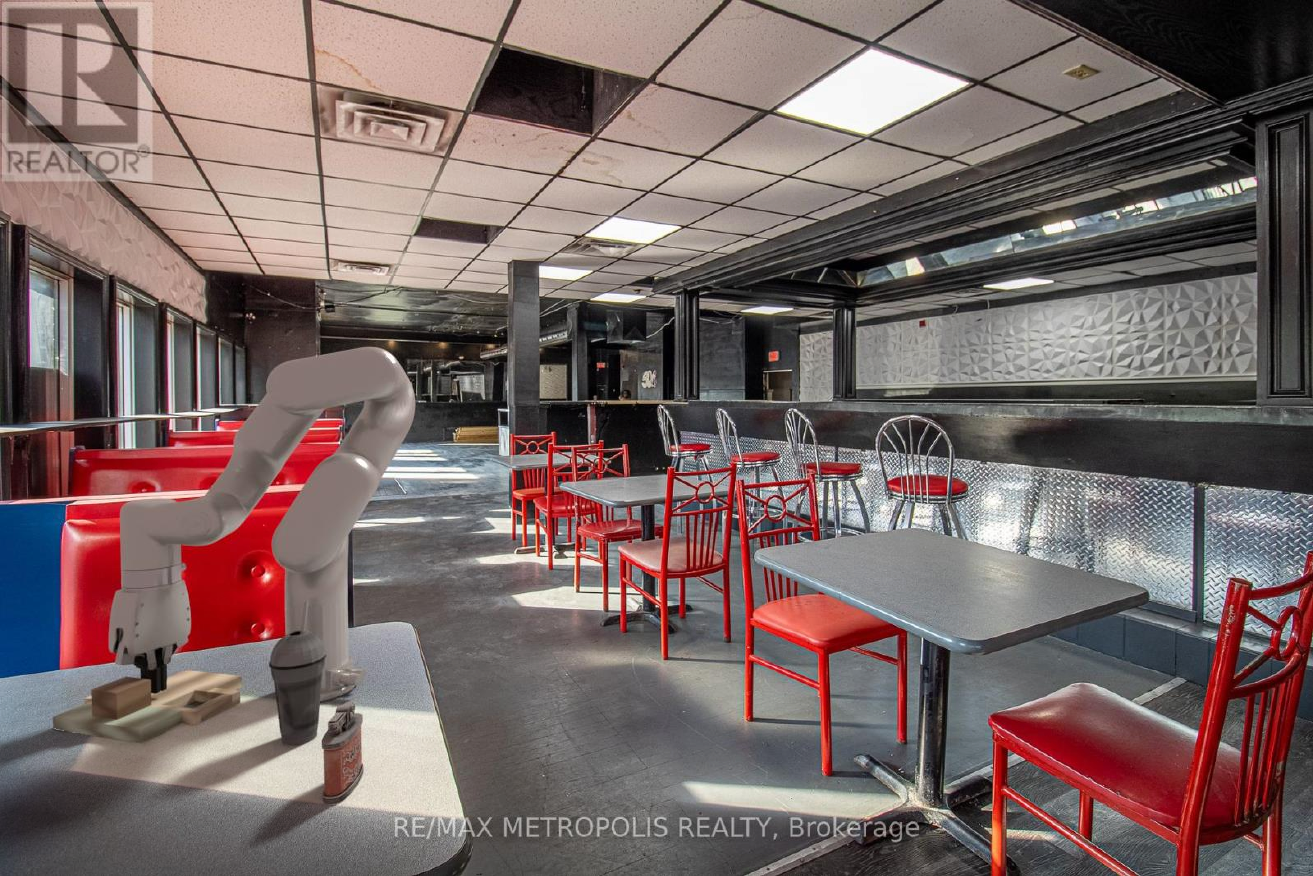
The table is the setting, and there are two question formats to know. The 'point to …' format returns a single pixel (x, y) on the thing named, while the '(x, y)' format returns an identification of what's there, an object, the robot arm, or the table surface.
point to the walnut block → (121, 697)
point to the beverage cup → (298, 683)
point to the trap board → (160, 708)
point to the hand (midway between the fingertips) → (154, 690)
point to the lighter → (342, 754)
